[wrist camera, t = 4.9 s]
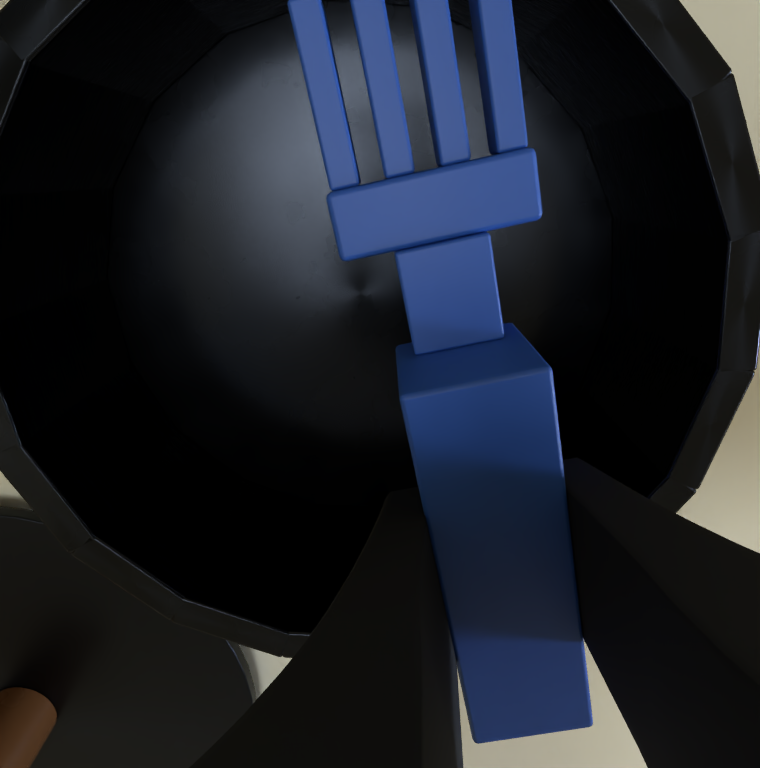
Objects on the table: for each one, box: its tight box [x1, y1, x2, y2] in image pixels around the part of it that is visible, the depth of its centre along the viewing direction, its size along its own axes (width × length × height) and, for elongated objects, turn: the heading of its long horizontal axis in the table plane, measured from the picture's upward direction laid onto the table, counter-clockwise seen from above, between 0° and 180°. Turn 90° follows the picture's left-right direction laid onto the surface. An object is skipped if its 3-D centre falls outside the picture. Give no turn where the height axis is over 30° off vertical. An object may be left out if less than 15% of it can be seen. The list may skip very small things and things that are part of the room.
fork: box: [287, 0, 593, 743], centre depth 9 cm, size 11×3×2 cm, turn 12°
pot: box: [0, 0, 760, 658], centre depth 14 cm, size 16×21×6 cm
